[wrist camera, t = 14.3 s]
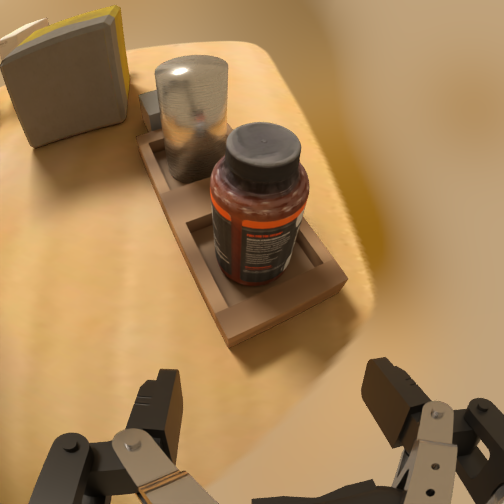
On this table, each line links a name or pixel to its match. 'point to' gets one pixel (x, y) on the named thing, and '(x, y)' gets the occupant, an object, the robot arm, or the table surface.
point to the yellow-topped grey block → (69, 77)
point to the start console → (150, 110)
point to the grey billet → (193, 114)
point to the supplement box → (19, 36)
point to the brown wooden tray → (206, 266)
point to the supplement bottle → (257, 202)
